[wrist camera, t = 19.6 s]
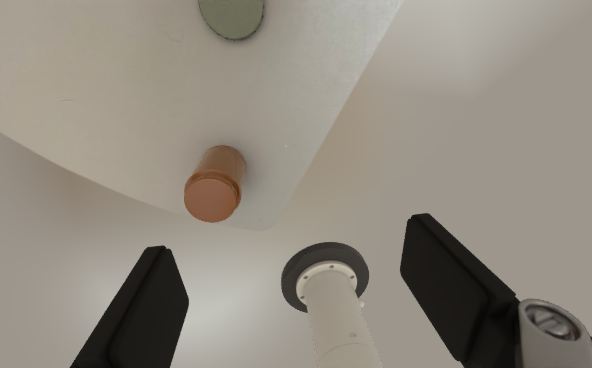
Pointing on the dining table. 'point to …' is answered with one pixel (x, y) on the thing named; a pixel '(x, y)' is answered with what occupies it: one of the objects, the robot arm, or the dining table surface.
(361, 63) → the dining table surface
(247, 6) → the lid
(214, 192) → the jar
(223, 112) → the dining table surface
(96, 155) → the dining table surface
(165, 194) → the dining table surface
